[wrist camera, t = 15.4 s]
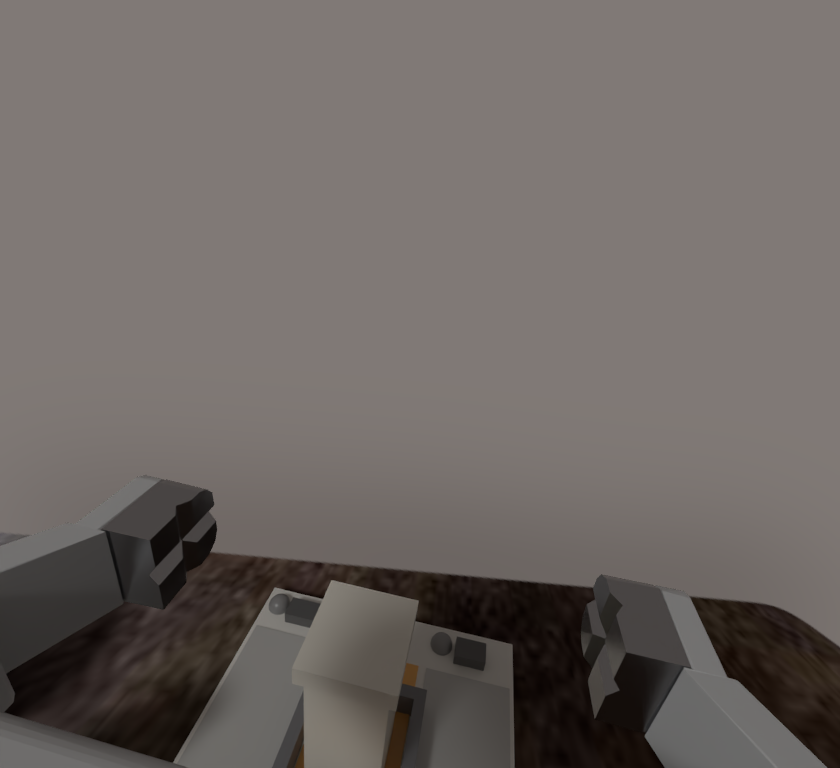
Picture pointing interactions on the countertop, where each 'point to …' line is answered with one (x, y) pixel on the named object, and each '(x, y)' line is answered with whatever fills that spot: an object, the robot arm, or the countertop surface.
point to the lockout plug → (353, 675)
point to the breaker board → (414, 718)
